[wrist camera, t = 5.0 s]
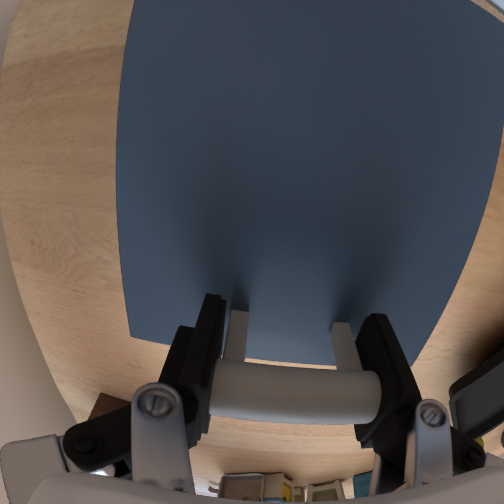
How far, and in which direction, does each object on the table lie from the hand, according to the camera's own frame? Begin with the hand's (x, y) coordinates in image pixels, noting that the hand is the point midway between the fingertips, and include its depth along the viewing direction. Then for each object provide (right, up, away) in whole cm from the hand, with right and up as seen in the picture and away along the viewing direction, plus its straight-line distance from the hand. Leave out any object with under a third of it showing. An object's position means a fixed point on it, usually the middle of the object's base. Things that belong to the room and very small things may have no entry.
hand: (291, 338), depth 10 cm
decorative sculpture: (-4, -38, +30) cm, 49 cm away
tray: (+31, -12, +15) cm, 36 cm away
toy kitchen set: (+11, -35, +28) cm, 46 cm away
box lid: (+1, +6, -1) cm, 6 cm away
